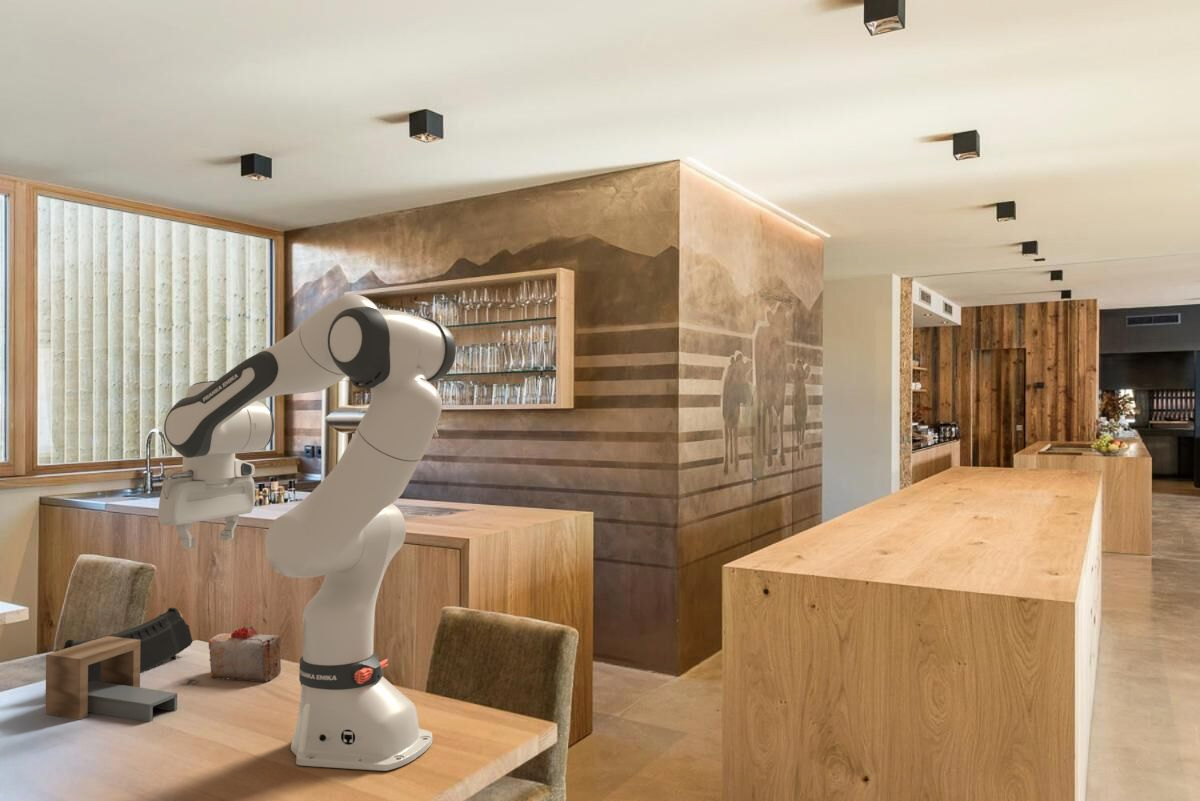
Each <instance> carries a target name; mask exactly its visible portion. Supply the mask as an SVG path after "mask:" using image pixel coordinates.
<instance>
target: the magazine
mask: <svg viewBox="0 0 1200 801" xmlns="http://www.w3.org/2000/svg"><path fill="white" fill-rule="evenodd" d="M106 636H113V637H121V638H129V639H137V640H140V674H142V673H144V672H146V671H149V670H152V669H153V668H155V667H157V666H159V665H161V664H163V663H164V662H166V661H168V660H169V659H170V660H171V658H172V660H177V659H176V658H177V656H176V655H178V654H180V653H182V652H183V651H184V650H185V649H187V648H188V647H191V645H193V644H192V643H193V638H192V634H191V630H190V626H189V624H187V623H186V621H185V620H184V617H183V614H182V613H181V611H180V610H178V608H176V607H169V608H168V609H167V611H166V612H164V613H161V614H159V615H158V616H156V617H154V618H153V619H150V620H149V621H146V622H144V623H142V624H140V625H137V626H133V627H132V628H129V629H126V630H122V631H119V632H117V633H113V634H108V635H104V636H100V637H97V638H96V637H95V638H91V639H84V640H73V639H67V640H66V641H65V643H64V646H63V648H62V649H61V650H63V649H66V648H69V647H73V646H76V645H79V644H83V643H86V642H89V641H93V640H96V639H99V638H103V637H106ZM100 673H101V661H99V662H96V663H93V664H90V665H88V682H90V681H98V682H100Z"/></svg>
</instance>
